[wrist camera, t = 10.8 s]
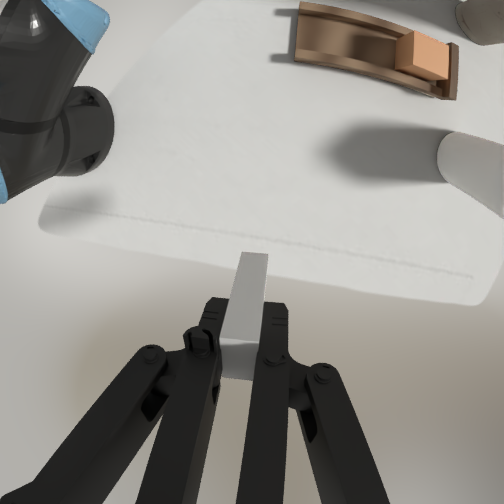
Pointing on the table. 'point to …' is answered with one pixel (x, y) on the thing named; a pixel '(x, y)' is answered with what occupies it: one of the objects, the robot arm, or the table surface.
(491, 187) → the white bottle
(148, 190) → the table surface
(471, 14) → the thermos bottle
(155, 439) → the robot arm
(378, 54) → the chute
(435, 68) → the block
